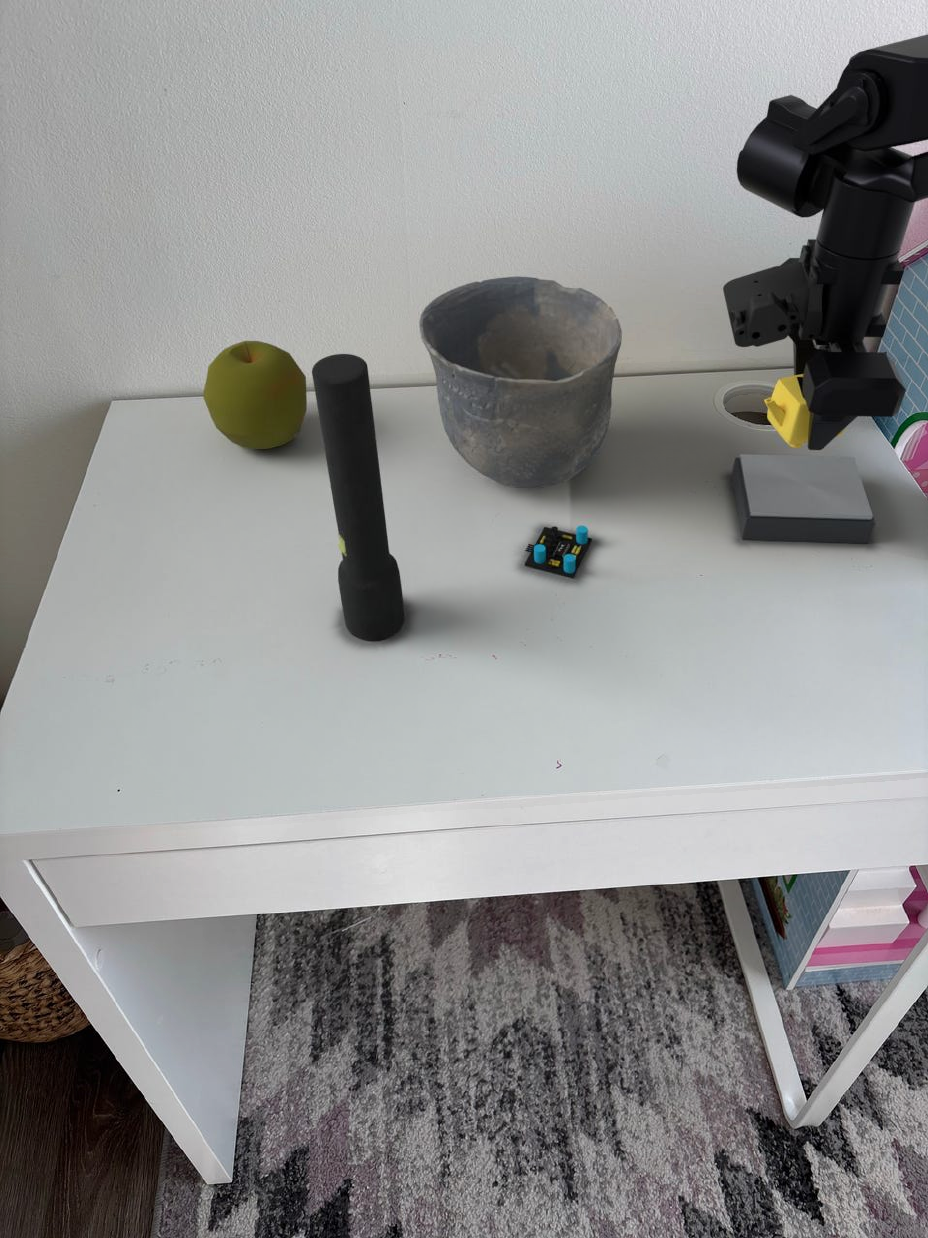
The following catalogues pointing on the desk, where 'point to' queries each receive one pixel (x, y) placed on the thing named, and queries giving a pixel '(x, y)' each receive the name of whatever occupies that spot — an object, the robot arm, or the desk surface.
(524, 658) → the desk surface
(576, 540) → the circuit board
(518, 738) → the desk surface
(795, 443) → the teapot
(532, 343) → the bowl
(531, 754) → the desk surface
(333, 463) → the flashlight
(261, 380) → the apple
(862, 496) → the scale
